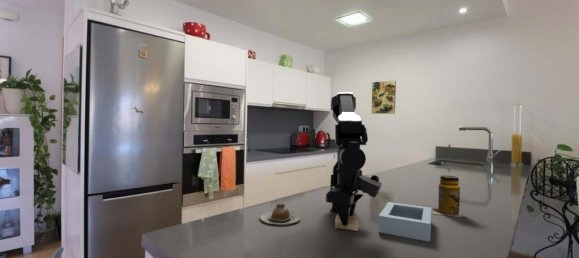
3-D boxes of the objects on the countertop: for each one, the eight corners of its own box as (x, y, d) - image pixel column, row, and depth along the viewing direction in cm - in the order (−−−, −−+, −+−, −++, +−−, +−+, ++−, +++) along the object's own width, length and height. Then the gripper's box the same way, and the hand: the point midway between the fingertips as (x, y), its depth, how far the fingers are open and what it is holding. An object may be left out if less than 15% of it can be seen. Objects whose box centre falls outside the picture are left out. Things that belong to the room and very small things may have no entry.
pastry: (308, 219, 82) (308, 204, 82) (284, 231, 72) (284, 213, 72) (277, 212, 89) (277, 197, 89) (251, 221, 79) (251, 205, 79)
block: (335, 227, 74) (335, 218, 74) (337, 223, 78) (337, 214, 78) (358, 230, 72) (358, 221, 72) (359, 225, 76) (359, 216, 76)
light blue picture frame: (378, 232, 72) (378, 215, 72) (388, 215, 86) (388, 201, 86) (430, 241, 66) (430, 223, 66) (431, 222, 80) (431, 207, 80)
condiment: (463, 217, 86) (464, 179, 86) (433, 214, 89) (434, 177, 89) (456, 211, 93) (457, 175, 93) (429, 208, 96) (429, 173, 96)
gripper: (371, 172, 63) (370, 241, 63) (385, 164, 79) (384, 218, 79) (325, 168, 68) (324, 231, 68) (347, 161, 84) (346, 212, 84)
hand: (347, 222), depth 75 cm, fingers closed on block, 4 cm apart
